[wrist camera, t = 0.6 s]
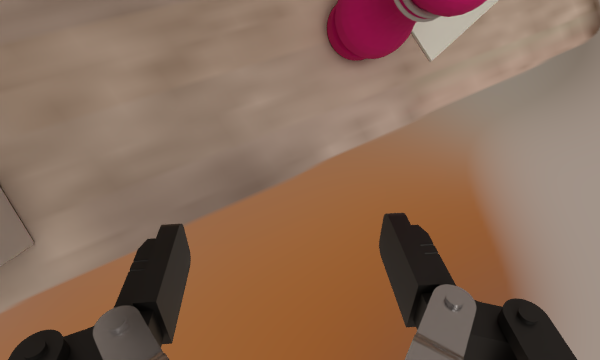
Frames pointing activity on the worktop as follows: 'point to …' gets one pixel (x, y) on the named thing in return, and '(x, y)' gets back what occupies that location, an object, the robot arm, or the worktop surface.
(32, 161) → the worktop surface
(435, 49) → the mat
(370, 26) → the pepper mill
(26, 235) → the milk carton
